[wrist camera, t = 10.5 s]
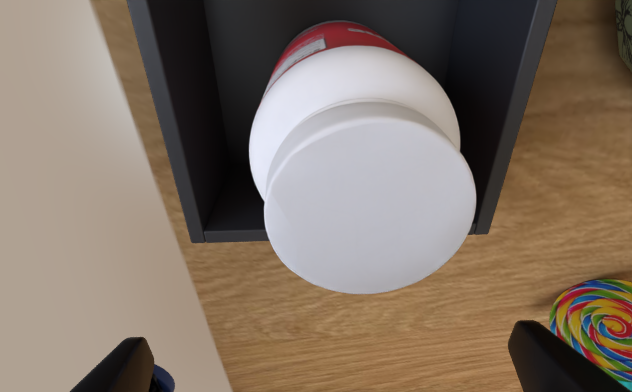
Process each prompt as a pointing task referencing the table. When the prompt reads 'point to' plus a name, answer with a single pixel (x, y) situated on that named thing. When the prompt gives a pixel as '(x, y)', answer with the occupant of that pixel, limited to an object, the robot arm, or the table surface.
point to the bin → (262, 55)
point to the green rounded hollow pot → (624, 30)
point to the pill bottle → (359, 163)
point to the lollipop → (598, 324)
